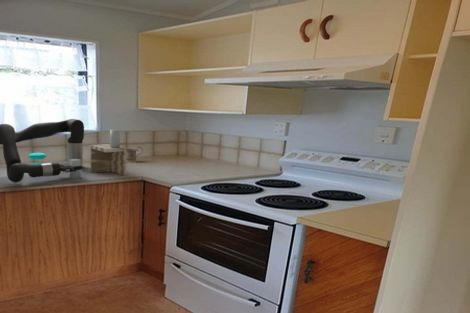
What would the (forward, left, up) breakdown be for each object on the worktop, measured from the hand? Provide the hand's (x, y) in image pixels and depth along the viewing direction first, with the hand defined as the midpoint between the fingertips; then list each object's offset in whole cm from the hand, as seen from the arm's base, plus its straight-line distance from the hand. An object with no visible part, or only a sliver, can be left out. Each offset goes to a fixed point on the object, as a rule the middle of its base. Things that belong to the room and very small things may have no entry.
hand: (79, 166), depth 201 cm
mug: (-31, +57, -7) cm, 65 cm away
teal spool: (-38, -10, -7) cm, 40 cm away
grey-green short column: (0, -2, -7) cm, 7 cm away
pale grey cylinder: (+5, +21, +11) cm, 24 cm away
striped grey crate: (0, +19, -7) cm, 20 cm away
